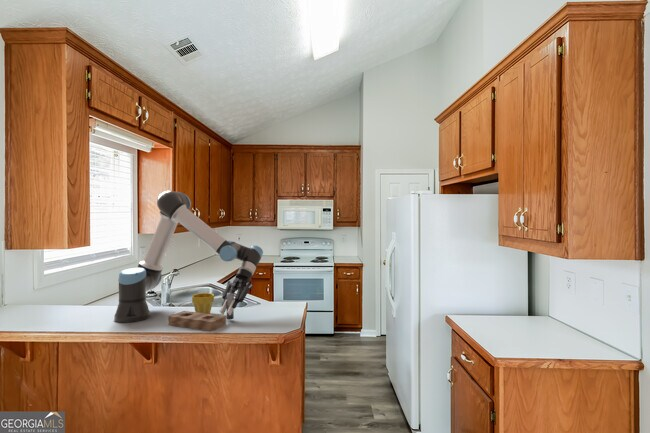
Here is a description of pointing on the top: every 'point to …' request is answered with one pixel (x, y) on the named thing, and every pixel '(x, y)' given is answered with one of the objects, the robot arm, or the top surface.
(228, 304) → the metal pin
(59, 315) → the top surface
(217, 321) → the walnut block
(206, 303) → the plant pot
